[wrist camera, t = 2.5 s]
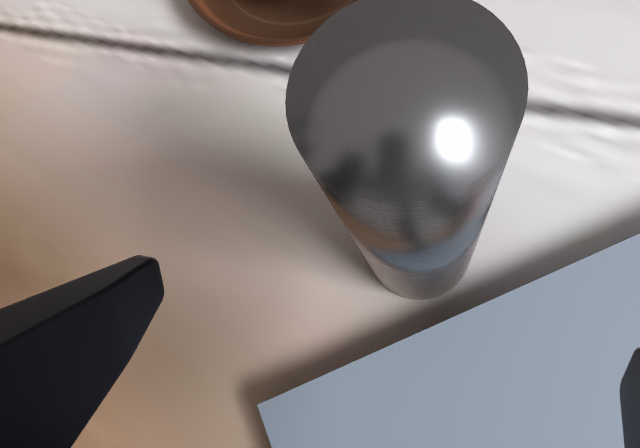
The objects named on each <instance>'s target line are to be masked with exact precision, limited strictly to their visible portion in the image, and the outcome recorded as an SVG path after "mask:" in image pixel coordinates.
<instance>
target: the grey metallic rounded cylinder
mask: <svg viewBox="0 0 640 448" xmlns="http://www.w3.org/2000/svg"><path fill="white" fill-rule="evenodd" d="M527 96H528V76H527V70H526V65H525V61H524V58H523V55H522V53H521V50H520V48H519V45H518V44H517V42H516V40H515V39H514V37H513V35H512V34H511V32H510V31H509V30H508V29H507V27H506V26H505V25H504V24H503V22H501V21H500V20H499V19H498V18H497V17H496V16H495V15H494V14H493V13H492V12H490V11H489V10H487V9H486V8H485V7H483V6H482V5H480V4H478V3H476V2H474V1H472V0H358V1H355V2H353V3H351V4H350V5H348V6H346V7H344V8H343V9H341V10H339V11H338V12H337V13H335V14H334V15H333V16H331V17H330V18H329V19H327V20H326V21H325V22H324V23H323V24H322V25H321V26H320V27H319V28H318V29H317V30H316V31H315V32H314V33H313V34H312V36H311V37H310V38H309V39H308V40H307V42H306V43H305V45H304V46H303V48H302V49H301V51H300V53H299V55H298V56H297V58H296V60H295V62H294V65H293V67H292V70H291V73H290V76H289V80H288V85H287V90H286V102H285V103H286V117H287V122H288V127H289V130H290V133H291V136H292V138H293V141H294V143H295V145H296V147H297V149H298V151H299V152H300V154H301V156H302V157H303V159H304V161H305V162H306V164H307V165H308V167H309V169H310V170H311V172H312V173H313V175H314V177H315V178H316V180H317V182H318V183H319V185H320V186H321V188H322V190H323V191H324V193H325V194H326V196H327V198H328V199H329V201H330V202H331V204H332V206H333V207H334V209H335V210H336V212H337V214H338V215H339V217H340V219H341V220H342V222H343V223H344V225H345V227H346V228H347V230H348V231H349V233H350V235H351V236H352V238H353V239H354V241H355V243H356V244H357V246H358V248H359V249H360V251H361V252H362V254H363V256H364V257H365V259H366V260H367V262H368V264H369V265H370V267H371V268H372V270H373V272H374V273H375V275H376V276H377V278H378V279H379V281H380V282H381V283H382V284H383V285H384V286H385V287H386V288H387V289H389V290H390V291H392V292H393V293H395V294H397V295H399V296H401V297H405V298H408V299H414V300H426V299H432V298H436V297H438V296H441V295H443V294H445V293H447V292H448V291H450V290H451V289H453V288H454V287H455V286H456V285H457V284H458V283H459V281H460V280H461V279H462V277H463V276H464V274H465V272H466V270H467V268H468V265H469V262H470V260H471V257H472V254H473V252H474V249H475V246H476V243H477V241H478V238H479V235H480V233H481V230H482V227H483V225H484V222H485V219H486V217H487V214H488V211H489V208H490V206H491V203H492V200H493V198H494V195H495V192H496V190H497V187H498V184H499V181H500V179H501V176H502V173H503V171H504V168H505V165H506V163H507V160H508V157H509V155H510V152H511V149H512V146H513V144H514V141H515V138H516V136H517V133H518V130H519V128H520V125H521V122H522V120H523V116H524V112H525V108H526V104H527Z"/></svg>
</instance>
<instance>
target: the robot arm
mask: <svg viewBox="0 0 640 448" xmlns="http://www.w3.org/2000/svg"><path fill="white" fill-rule="evenodd" d="M163 296H164V286H163V281H162V276H161V272H160V267H159V263H158V261H157V260H156V259H155V258H152V257H147V256H141V255H137V256H134V257H131V258H129V259H126V260H123V261H121V262H118V263H116V264H113V265H111V266H108V267H106V268H103V269H101V270H98V271H96V272H93V273H90V274H88V275H85V276H83V277H80V278H78V279H75V280H73V281H70V282H68V283H65V284H62V285H60V286H57V287H55V288H52V289H50V290H47V291H45V292H42V293H40V294H37V295H34V296H32V297H29V298H27V299H24V300H22V301H19V302H17V303H14V304H12V305H9V306H6V307H4V308H1V309H0V448H71V447H72V445H73V444H74V442H75V441H76V439H77V438H78V436H79V435H80V433H81V432H82V430H83V429H84V427H85V426H86V425H87V423H88V422H89V420H90V419H91V417H92V416H93V414H94V413H95V411H96V410H97V408H98V407H99V405H100V404H101V402H102V401H103V399H104V398H105V396H106V395H107V394H108V392H109V391H110V389H111V388H112V386H113V385H114V383H115V382H116V380H117V379H118V377H119V376H120V374H121V373H122V371H123V370H124V368H125V367H126V365H127V364H128V362H129V361H130V359H131V357H132V355H133V354H134V352H135V350H136V348H137V346H138V345H139V343H140V341H141V339H142V337H143V335H144V333H145V332H146V330H147V328H148V326H149V324H150V322H151V320H152V319H153V317H154V315H155V313H156V311H157V309H158V307H159V305H160V304H161V302H162V299H163ZM620 405H621V416H622V427H623V437H624V448H640V347H639V348H637V349H636V350H635V351H634V352H633V355H632V357H631V359H630V361H629V364H628V366H627V368H626V371H625V373H624V375H623V378H622V380H621V384H620Z"/></svg>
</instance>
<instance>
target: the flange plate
mask: <svg viewBox="0 0 640 448" xmlns="http://www.w3.org/2000/svg"><path fill="white" fill-rule="evenodd" d="M639 347H640V234H637V235H635V236H633V237H631V238H628V239H626V240H624V241H622V242H619V243H617V244H615V245H613V246H611V247H608V248H606V249H604V250H602V251H599V252H597V253H595V254H593V255H590V256H588V257H586V258H584V259H582V260H579V261H577V262H575V263H573V264H570V265H568V266H566V267H564V268H561V269H559V270H557V271H555V272H553V273H550V274H548V275H546V276H544V277H541V278H539V279H537V280H535V281H532V282H530V283H528V284H526V285H524V286H521V287H519V288H517V289H515V290H512V291H510V292H508V293H506V294H503V295H501V296H499V297H497V298H494V299H492V300H490V301H488V302H486V303H483V304H481V305H479V306H477V307H474V308H472V309H470V310H468V311H465V312H463V313H461V314H459V315H457V316H454V317H452V318H450V319H448V320H445V321H443V322H441V323H439V324H436V325H434V326H432V327H430V328H428V329H425V330H423V331H421V332H419V333H416V334H414V335H412V336H410V337H407V338H405V339H403V340H401V341H399V342H396V343H394V344H392V345H390V346H387V347H385V348H383V349H381V350H378V351H376V352H374V353H372V354H370V355H367V356H365V357H363V358H361V359H358V360H356V361H354V362H352V363H349V364H347V365H345V366H343V367H341V368H338V369H336V370H334V371H332V372H329V373H327V374H325V375H323V376H320V377H318V378H316V379H314V380H312V381H309V382H307V383H305V384H303V385H300V386H298V387H296V388H294V389H291V390H289V391H287V392H285V393H283V394H280V395H278V396H276V397H274V398H271V399H269V400H267V401H265V402H262V403H260V404H258V405H257V406H258V409H259V412H260V415H261V418H262V421H263V424H264V426H265V429H266V432H267V435H268V438H269V441H270V444H271V447H272V448H624V437H623V427H622V416H621V405H620V384H621V380H622V378H623V375H624V373H625V371H626V368H627V366H628V364H629V361H630V359H631V357H632V355H633V352H634V351H635V350H636V349H637V348H639Z"/></svg>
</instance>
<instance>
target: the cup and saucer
mask: <svg viewBox="0 0 640 448" xmlns="http://www.w3.org/2000/svg"><path fill="white" fill-rule="evenodd" d="M188 1H189V3H190V4H191V6H192V7H193V8H194V9H195V10H196V12H197V13H198V14H199V15H200V16H201V17H202V18H203V19H204V20H205V21H207V22H208V23H209V24H210V25H212V26H213V27H214V28H216V29H217V30H219V31H221V32H222V33H224V34H226V35H228V36H230V37H233V38H235V39H237V40H241V41H244V42H247V43H252V44H257V45H266V46H288V45H297V44H303V43H306V42H307V40H308V39H309V38H310V37H311V36H312V34H313V33H314V32H315V31H316V30H317V29H318V28H319V27H320V26H321V25H322V24H323V23H324V22H325V21H326V20H327V19H329V18H330V17H331V16H333V15H334V14H335V13H337V12H338V11H339V10H341V9H343V8H344V7H346V6H348V5H350V4H351V3H353V2H355V1H358V0H188Z"/></svg>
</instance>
